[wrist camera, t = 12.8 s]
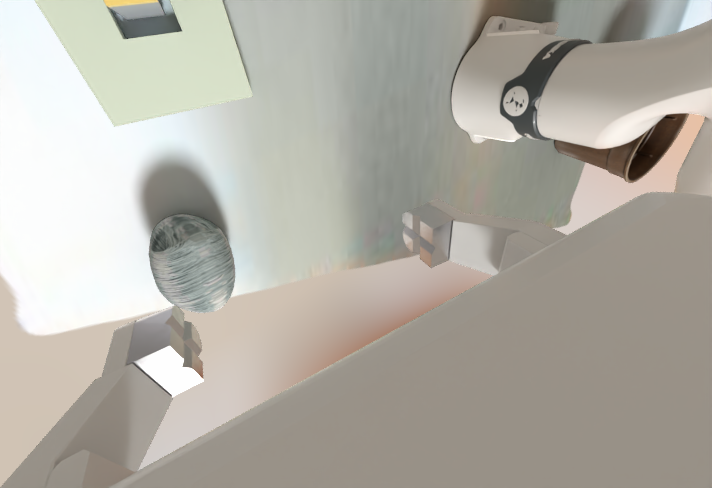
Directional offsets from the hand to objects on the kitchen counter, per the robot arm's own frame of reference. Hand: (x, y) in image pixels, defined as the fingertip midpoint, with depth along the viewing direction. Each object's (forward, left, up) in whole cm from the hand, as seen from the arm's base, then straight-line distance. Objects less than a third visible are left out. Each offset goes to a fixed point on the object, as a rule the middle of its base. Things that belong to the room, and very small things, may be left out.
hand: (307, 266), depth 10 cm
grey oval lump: (+10, +15, -31) cm, 36 cm away
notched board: (+3, -8, -31) cm, 32 cm away
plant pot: (-73, +18, -31) cm, 81 cm away
